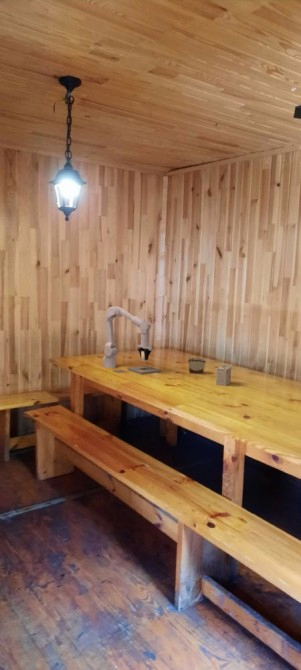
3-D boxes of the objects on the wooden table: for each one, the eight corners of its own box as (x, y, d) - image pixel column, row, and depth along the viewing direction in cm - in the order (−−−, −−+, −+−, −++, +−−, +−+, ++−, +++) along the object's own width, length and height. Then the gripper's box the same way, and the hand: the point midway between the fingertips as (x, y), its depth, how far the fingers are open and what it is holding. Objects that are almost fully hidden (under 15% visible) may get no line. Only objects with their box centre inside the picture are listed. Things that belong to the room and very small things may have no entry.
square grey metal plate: (111, 372, 331) (111, 370, 331) (121, 371, 336) (121, 369, 336) (118, 374, 325) (118, 373, 325) (128, 373, 330) (128, 371, 330)
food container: (205, 372, 342) (205, 358, 341) (205, 374, 336) (205, 360, 335) (187, 371, 343) (188, 357, 342) (187, 373, 337) (187, 359, 336)
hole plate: (127, 371, 336) (127, 367, 335) (146, 369, 345) (146, 365, 345) (141, 376, 323) (141, 372, 323) (160, 373, 333) (160, 369, 333)
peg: (140, 361, 334) (140, 351, 333) (144, 360, 336) (144, 350, 335) (143, 362, 330) (143, 352, 329) (148, 361, 333) (148, 351, 332)
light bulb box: (220, 381, 316) (221, 365, 314) (231, 382, 313) (232, 366, 311) (215, 384, 306) (216, 367, 305) (226, 386, 303) (226, 369, 302)
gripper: (133, 338, 335) (133, 358, 336) (146, 341, 323) (146, 361, 325) (142, 338, 339) (141, 357, 341) (155, 340, 328) (154, 360, 329)
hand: (144, 359), depth 333 cm, fingers closed on peg, 4 cm apart
